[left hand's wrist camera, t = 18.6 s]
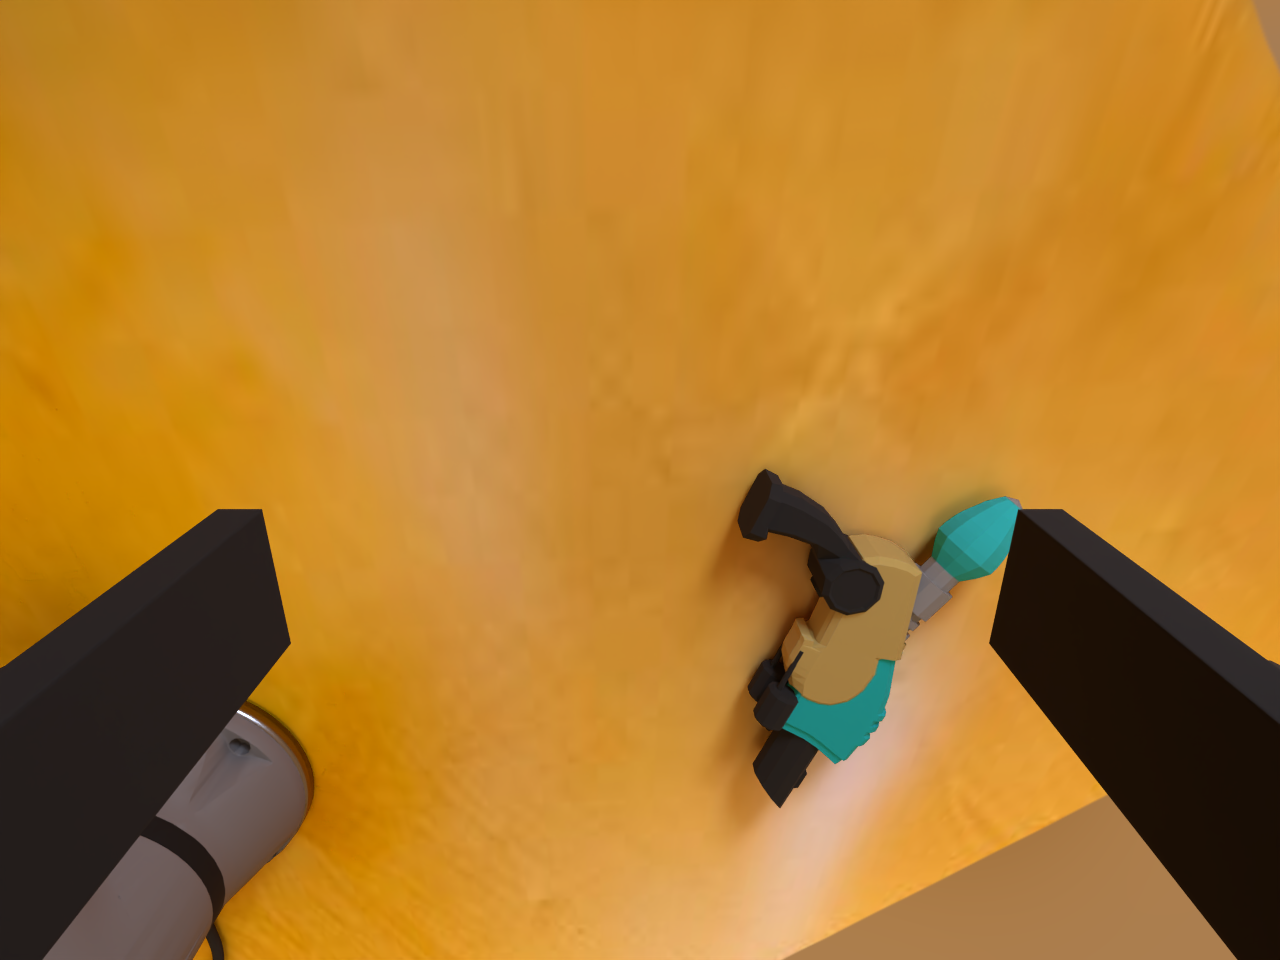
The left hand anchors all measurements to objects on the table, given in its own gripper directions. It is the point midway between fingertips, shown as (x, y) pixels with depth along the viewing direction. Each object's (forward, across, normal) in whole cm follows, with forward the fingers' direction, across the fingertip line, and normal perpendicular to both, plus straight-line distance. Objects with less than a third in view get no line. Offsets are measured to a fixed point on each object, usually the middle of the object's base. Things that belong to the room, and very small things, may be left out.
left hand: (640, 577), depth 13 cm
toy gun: (+29, -11, +19) cm, 36 cm away
